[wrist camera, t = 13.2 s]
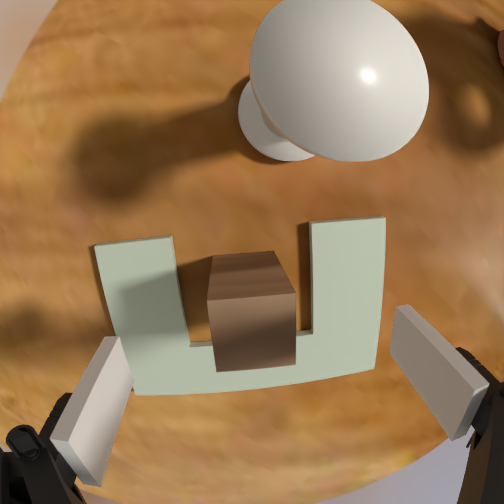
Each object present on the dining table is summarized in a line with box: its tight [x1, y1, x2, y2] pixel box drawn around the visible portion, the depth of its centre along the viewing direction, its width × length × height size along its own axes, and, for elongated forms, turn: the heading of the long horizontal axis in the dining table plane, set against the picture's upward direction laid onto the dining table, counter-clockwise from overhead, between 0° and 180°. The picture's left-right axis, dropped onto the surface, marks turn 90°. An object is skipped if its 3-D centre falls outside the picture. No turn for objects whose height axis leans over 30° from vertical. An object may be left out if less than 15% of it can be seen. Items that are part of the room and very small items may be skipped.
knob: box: [238, 0, 429, 162], centre depth 15 cm, size 7×7×12 cm
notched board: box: [94, 216, 386, 395], centre depth 25 cm, size 14×22×1 cm, turn 95°
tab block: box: [207, 251, 296, 372], centre depth 20 cm, size 4×4×8 cm
